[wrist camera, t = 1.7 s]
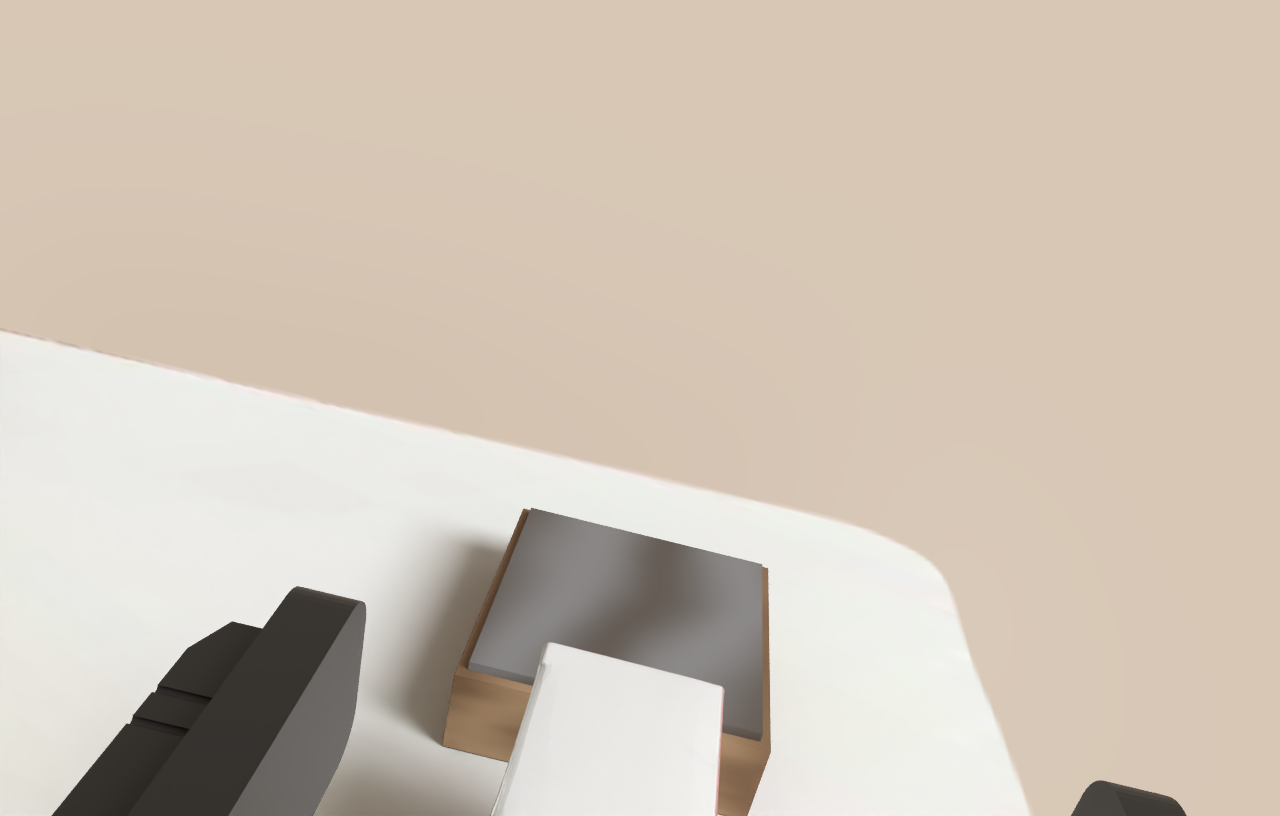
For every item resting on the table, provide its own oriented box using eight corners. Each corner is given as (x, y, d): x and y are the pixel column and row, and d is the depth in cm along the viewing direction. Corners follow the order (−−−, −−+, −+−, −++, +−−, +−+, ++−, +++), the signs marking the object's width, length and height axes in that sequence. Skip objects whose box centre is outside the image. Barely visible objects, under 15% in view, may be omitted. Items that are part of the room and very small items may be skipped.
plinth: (442, 745, 38) (455, 666, 37) (511, 569, 49) (524, 501, 48) (745, 820, 38) (773, 744, 37) (748, 627, 49) (770, 561, 47)
